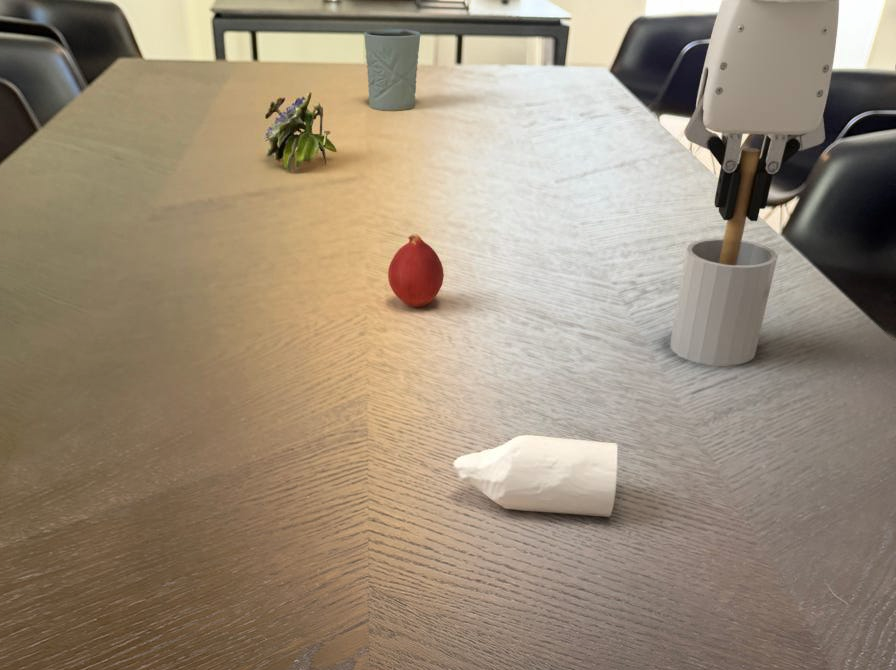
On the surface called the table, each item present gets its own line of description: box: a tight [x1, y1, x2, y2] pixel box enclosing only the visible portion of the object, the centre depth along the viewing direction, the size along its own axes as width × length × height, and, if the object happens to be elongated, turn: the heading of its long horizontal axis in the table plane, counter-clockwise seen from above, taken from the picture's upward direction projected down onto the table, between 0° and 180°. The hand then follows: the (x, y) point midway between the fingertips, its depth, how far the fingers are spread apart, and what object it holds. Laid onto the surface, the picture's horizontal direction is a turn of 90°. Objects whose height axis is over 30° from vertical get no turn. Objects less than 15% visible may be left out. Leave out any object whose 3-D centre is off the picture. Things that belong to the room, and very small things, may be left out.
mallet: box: [719, 147, 761, 265], centre depth 93 cm, size 4×4×15 cm
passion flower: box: [264, 91, 337, 173], centre depth 154 cm, size 11×11×12 cm
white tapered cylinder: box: [453, 434, 619, 518], centre depth 75 cm, size 6×12×6 cm, turn 83°
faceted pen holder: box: [669, 237, 779, 367], centre depth 97 cm, size 8×8×10 cm
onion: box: [387, 233, 445, 308], centre depth 106 cm, size 6×6×8 cm
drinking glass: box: [363, 28, 421, 112], centre depth 185 cm, size 10×10×12 cm
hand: (737, 214), depth 91 cm, fingers closed on mallet
